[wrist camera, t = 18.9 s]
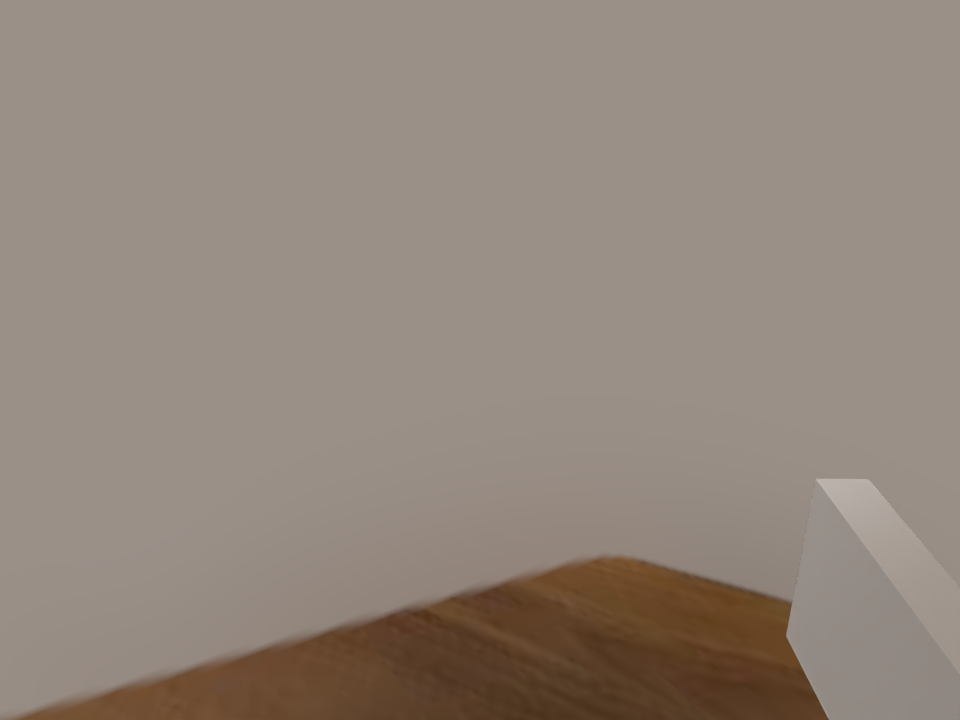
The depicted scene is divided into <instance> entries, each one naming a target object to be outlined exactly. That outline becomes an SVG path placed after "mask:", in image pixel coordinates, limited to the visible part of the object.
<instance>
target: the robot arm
mask: <svg viewBox="0 0 960 720" xmlns="http://www.w3.org/2000/svg"><path fill="white" fill-rule="evenodd" d="M786 637H787V639H788V641H789V643H790V645H791V647H792V649H793V651H794V653H795V655H796V656H797V658H798V660H799V662H800V664H801V666H802V668H803V670H804V672H805V674H806V676H807V678H808V680H809V682H810V684H811V686H812V688H813V690H814V692H815V694H816V696H817V698H818V700H819V702H820V704H821V706H822V707H823V709H824V711H825V713H826V715H827V717H828V719H829V720H960V587H959V586H958V585H957V583H956V582H955V581H954V580H953V579H952V577H951V576H950V575H949V574H948V573H947V571H946V570H945V569H944V568H943V567H942V566H941V564H940V563H939V562H938V561H937V560H936V558H935V557H934V556H933V555H932V554H931V553H930V551H929V550H928V549H927V548H926V547H925V545H924V544H923V543H922V542H921V541H920V540H919V538H918V537H917V536H916V535H915V534H914V532H913V531H912V530H911V529H910V528H909V526H908V525H907V524H906V523H905V522H904V521H903V519H902V518H901V517H900V516H899V515H898V514H897V512H896V511H895V510H894V509H893V508H892V506H891V505H890V504H889V503H888V502H887V501H886V499H885V498H884V497H883V496H882V495H881V493H880V492H879V491H878V490H877V489H876V487H875V486H874V485H873V484H872V483H871V482H870V480H869V479H815V484H814V489H813V495H812V500H811V505H810V511H809V516H808V521H807V527H806V532H805V538H804V544H803V548H802V554H801V559H800V565H799V570H798V575H797V581H796V586H795V592H794V597H793V602H792V607H791V613H790V618H789V623H788V629H787V634H786Z"/></svg>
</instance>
